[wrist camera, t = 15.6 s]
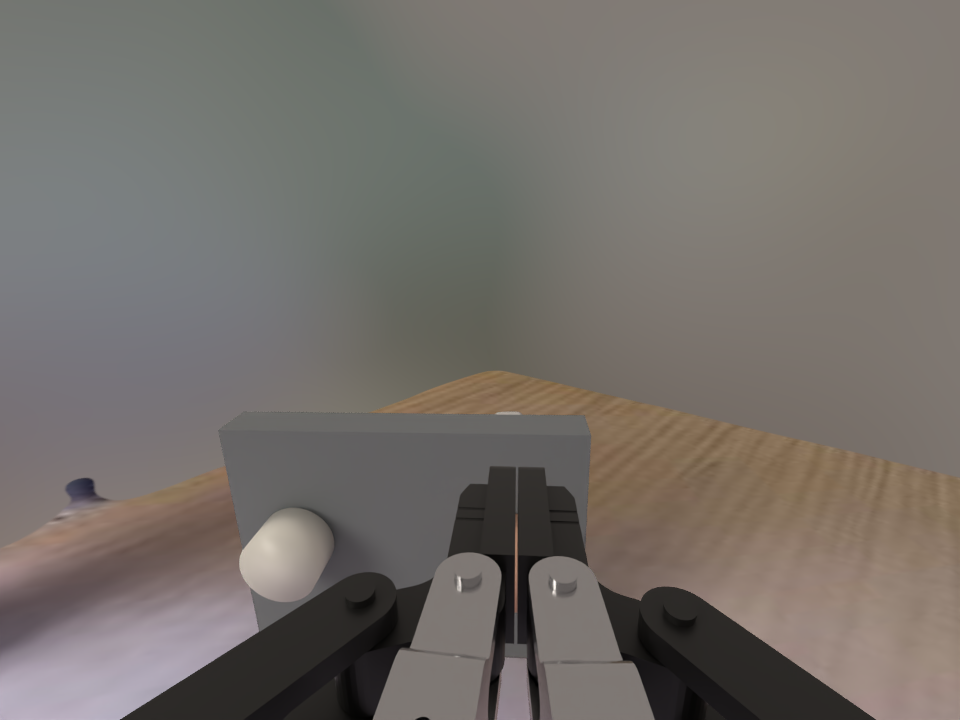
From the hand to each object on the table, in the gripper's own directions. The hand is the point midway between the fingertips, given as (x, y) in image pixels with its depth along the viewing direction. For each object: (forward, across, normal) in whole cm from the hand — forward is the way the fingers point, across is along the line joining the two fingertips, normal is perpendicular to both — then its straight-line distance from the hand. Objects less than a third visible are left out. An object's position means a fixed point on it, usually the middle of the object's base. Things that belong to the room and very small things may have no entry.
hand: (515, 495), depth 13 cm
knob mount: (+20, +7, +24) cm, 32 cm away
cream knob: (+17, +15, +16) cm, 28 cm away
